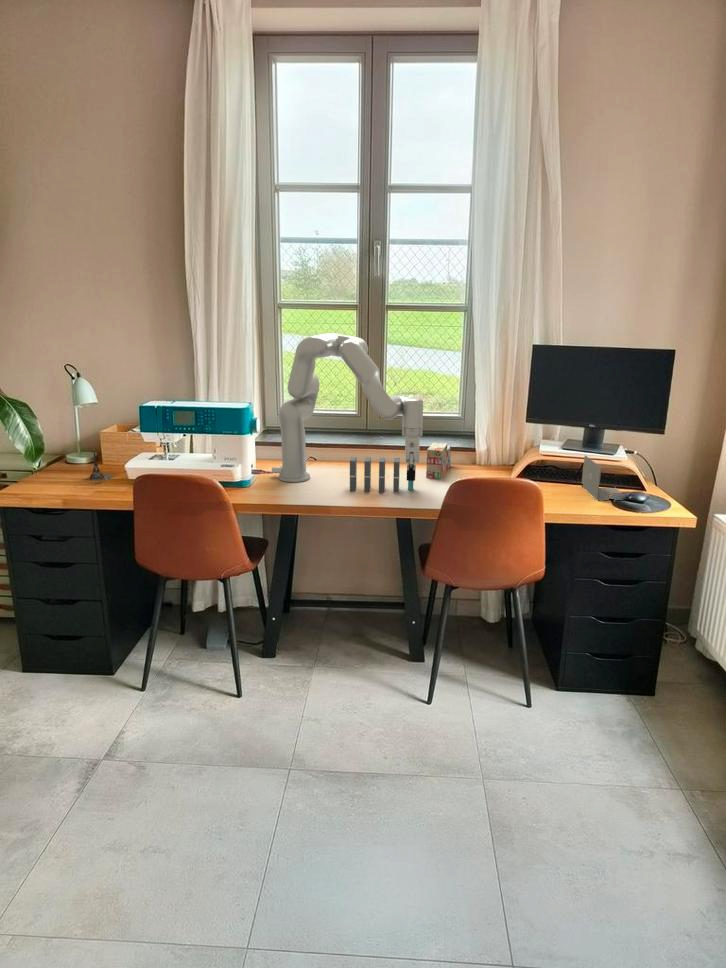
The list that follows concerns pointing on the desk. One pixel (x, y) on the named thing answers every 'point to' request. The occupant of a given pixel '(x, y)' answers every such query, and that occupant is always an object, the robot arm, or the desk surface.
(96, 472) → the eiffel tower figurine
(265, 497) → the desk surface
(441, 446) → the stack of blocks
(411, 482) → the teal domino
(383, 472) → the domino
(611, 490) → the laptop
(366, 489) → the domino
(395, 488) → the domino
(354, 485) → the domino
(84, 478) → the desk surface
